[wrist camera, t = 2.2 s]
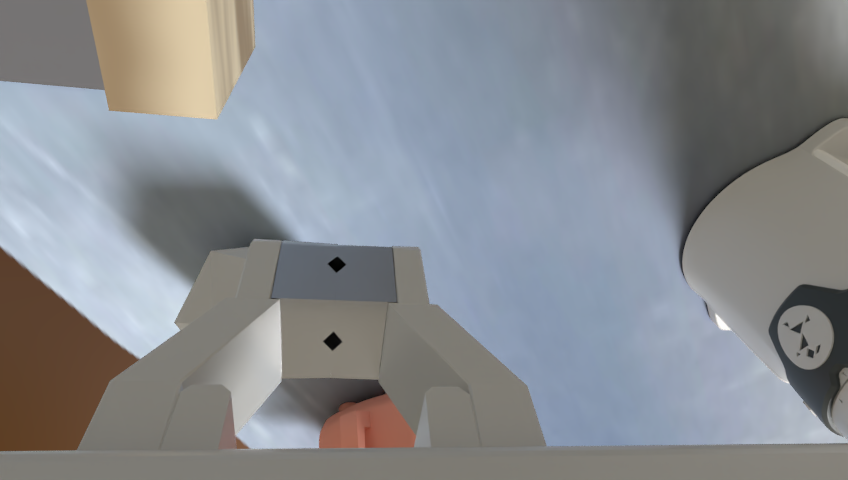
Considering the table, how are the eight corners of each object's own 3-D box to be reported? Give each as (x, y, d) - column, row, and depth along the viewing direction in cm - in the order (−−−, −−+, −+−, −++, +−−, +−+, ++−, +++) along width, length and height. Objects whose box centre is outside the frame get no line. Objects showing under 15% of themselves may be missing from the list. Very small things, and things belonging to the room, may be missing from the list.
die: (194, 209, 36) (124, 355, 32) (300, 216, 32) (234, 383, 28) (271, 262, 43) (220, 388, 39) (366, 274, 39) (320, 414, 35)
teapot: (419, 459, 54) (430, 561, 47) (304, 440, 51) (295, 547, 43) (472, 388, 49) (494, 491, 41) (347, 360, 45) (345, 467, 37)
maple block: (249, -79, 26) (201, -48, 18) (255, 46, 30) (217, 119, 22) (162, -91, 26) (72, -65, 17) (178, 38, 29) (109, 110, 21)
